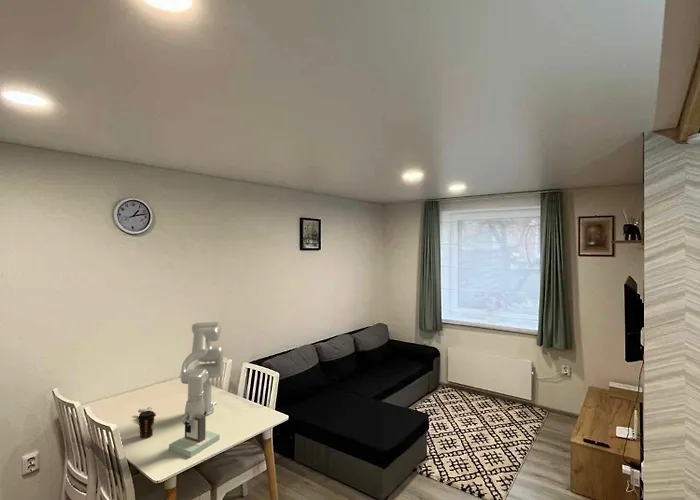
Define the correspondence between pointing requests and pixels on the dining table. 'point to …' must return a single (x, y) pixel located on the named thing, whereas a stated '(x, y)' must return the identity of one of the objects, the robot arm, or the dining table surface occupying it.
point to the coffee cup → (146, 424)
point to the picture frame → (197, 429)
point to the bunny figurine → (146, 410)
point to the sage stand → (193, 444)
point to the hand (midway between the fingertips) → (195, 428)
